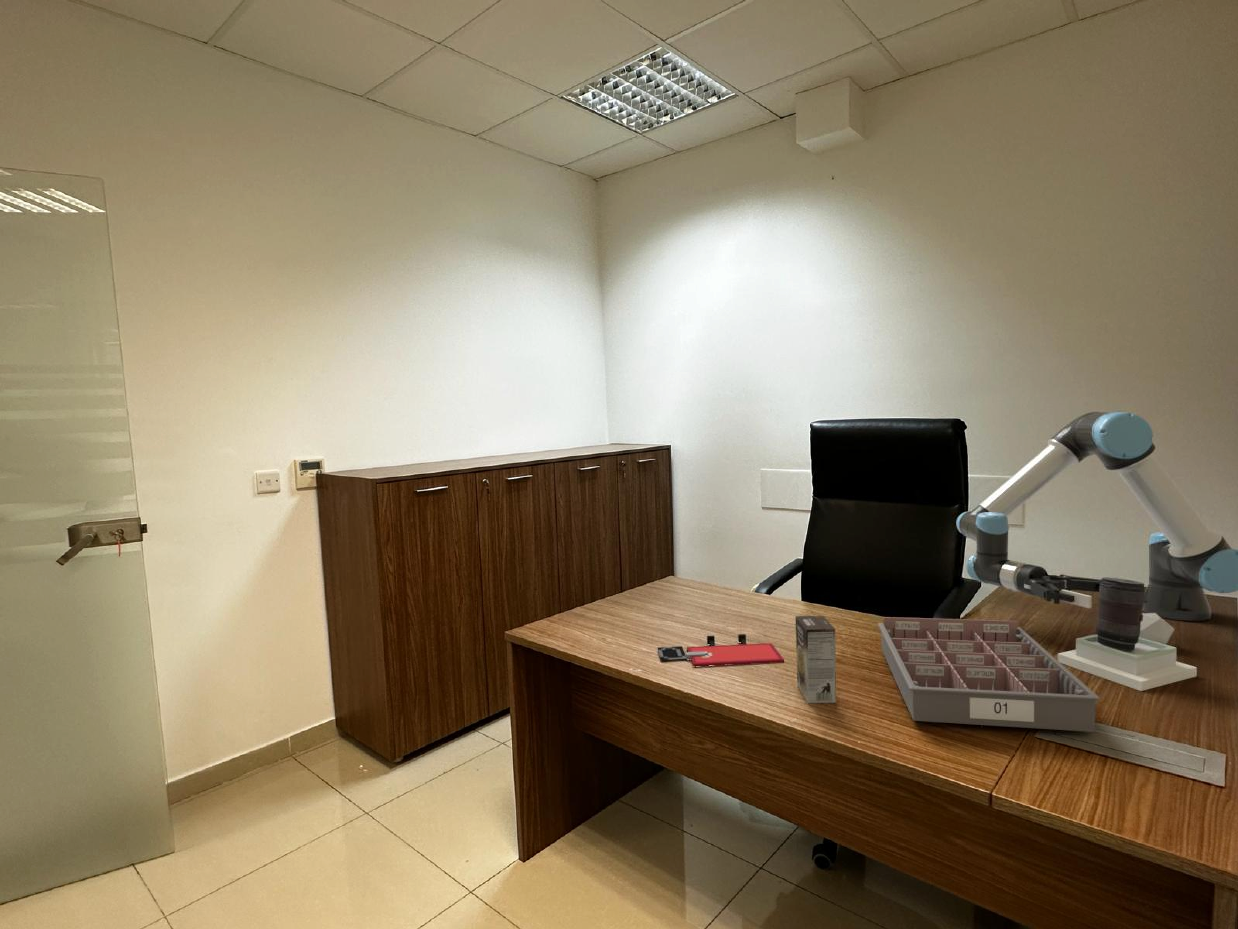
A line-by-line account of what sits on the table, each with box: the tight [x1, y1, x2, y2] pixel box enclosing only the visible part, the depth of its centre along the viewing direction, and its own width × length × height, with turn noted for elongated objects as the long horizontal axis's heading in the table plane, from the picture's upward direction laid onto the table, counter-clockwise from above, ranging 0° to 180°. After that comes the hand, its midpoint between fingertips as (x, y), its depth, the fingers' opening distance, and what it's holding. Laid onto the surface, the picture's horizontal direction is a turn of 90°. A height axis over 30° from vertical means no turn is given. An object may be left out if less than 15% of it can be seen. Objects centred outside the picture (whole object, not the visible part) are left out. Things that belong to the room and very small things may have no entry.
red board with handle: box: [656, 633, 785, 668], centre depth 167 cm, size 30×3×15 cm
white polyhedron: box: [1139, 612, 1175, 645], centre depth 161 cm, size 8×9×10 cm
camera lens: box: [1095, 576, 1146, 651], centre depth 147 cm, size 8×8×15 cm
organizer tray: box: [877, 616, 1102, 733], centre depth 140 cm, size 32×40×10 cm
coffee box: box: [795, 615, 837, 704], centre depth 141 cm, size 9×6×16 cm
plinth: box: [1057, 633, 1198, 692], centre depth 147 cm, size 18×18×6 cm
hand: (1111, 598), depth 149 cm, fingers open, 13 cm apart
